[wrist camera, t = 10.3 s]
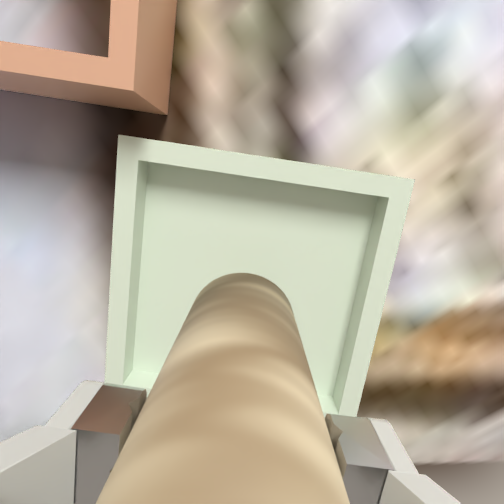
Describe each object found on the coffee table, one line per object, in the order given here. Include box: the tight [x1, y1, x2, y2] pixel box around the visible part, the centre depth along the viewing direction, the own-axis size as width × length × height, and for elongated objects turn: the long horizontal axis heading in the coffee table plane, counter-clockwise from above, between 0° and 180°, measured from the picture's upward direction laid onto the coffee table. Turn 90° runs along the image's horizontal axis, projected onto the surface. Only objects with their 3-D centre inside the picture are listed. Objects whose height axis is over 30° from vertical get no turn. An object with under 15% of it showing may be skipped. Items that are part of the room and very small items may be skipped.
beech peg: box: [96, 273, 350, 504], centre depth 8 cm, size 4×4×12 cm
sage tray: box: [104, 135, 415, 418], centre depth 18 cm, size 14×14×2 cm
